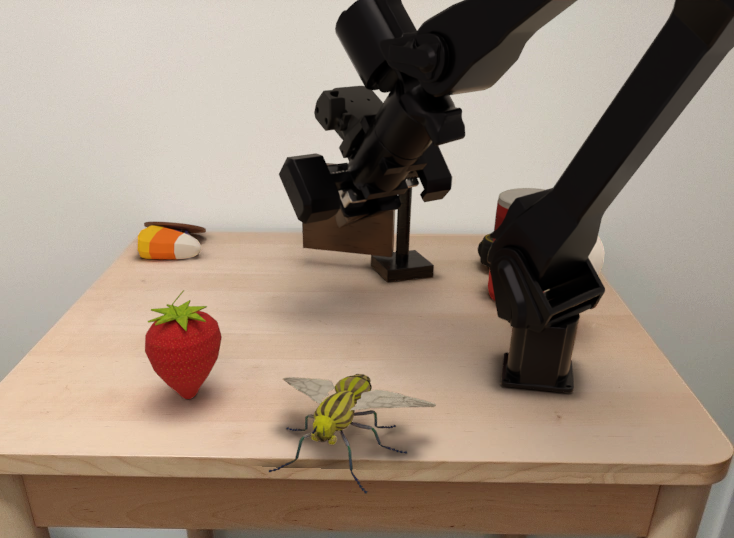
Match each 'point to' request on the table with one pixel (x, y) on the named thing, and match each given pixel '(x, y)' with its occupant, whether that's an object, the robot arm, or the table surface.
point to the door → (353, 235)
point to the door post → (403, 250)
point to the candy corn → (166, 244)
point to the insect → (346, 408)
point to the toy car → (178, 227)
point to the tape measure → (485, 249)
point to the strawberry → (183, 346)
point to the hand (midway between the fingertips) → (339, 223)
